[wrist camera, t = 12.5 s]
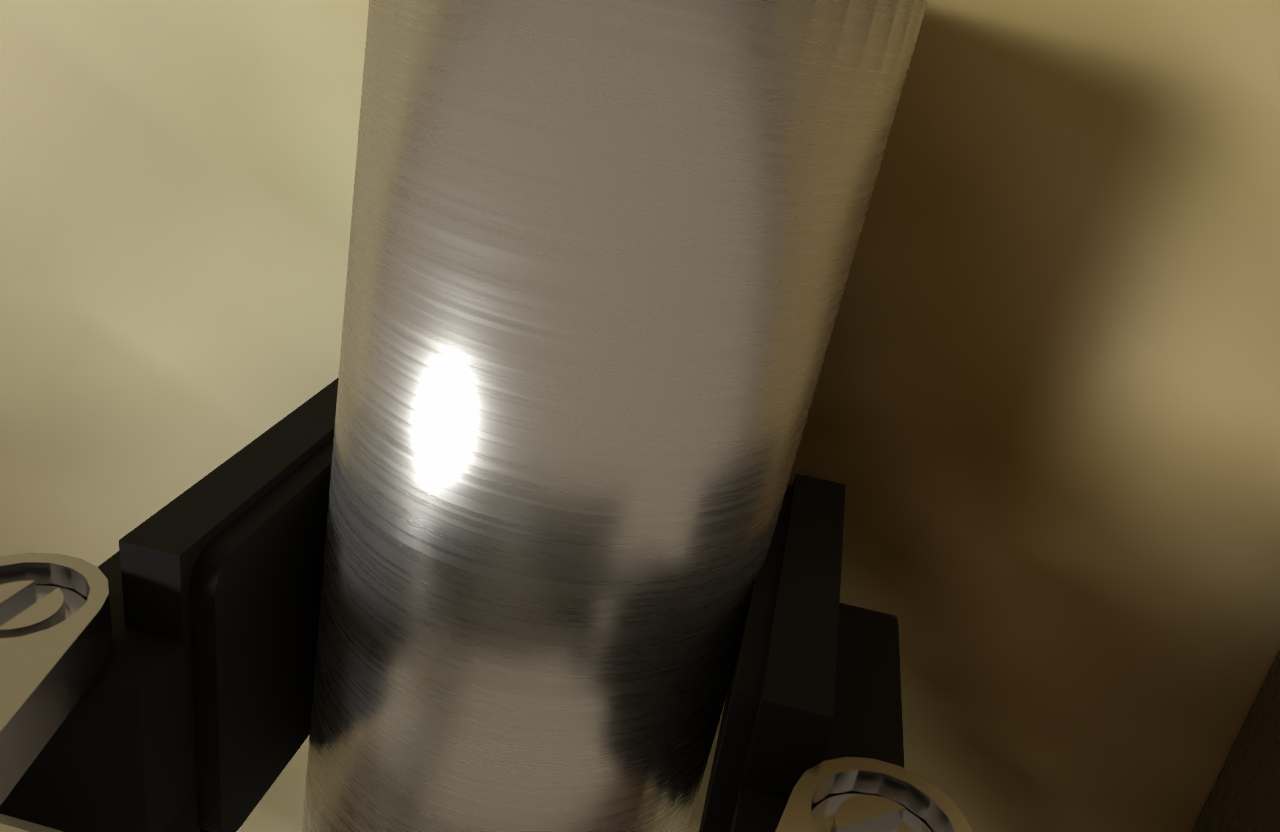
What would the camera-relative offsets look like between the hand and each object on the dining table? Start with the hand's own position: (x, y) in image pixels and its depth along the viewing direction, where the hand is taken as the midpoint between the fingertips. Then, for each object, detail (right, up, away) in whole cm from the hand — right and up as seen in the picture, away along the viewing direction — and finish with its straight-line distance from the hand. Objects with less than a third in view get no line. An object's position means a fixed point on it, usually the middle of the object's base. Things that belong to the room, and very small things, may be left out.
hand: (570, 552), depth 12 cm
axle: (+1, +1, -1) cm, 2 cm away
